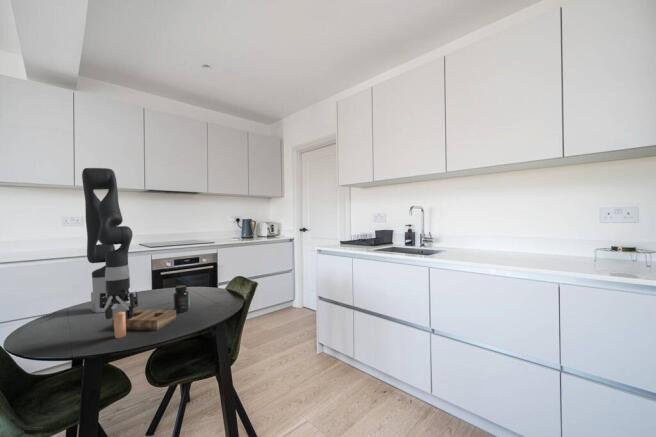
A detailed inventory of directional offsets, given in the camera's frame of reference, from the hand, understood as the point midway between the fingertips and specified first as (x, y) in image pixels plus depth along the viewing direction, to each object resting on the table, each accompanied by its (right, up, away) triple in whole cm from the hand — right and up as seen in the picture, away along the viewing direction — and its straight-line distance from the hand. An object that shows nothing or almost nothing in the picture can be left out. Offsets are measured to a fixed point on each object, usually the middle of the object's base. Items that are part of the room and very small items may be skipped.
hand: (119, 318), depth 108 cm
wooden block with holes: (+2, -7, +12) cm, 14 cm away
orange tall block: (0, -7, 0) cm, 7 cm away
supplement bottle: (+10, -6, +28) cm, 30 cm away
